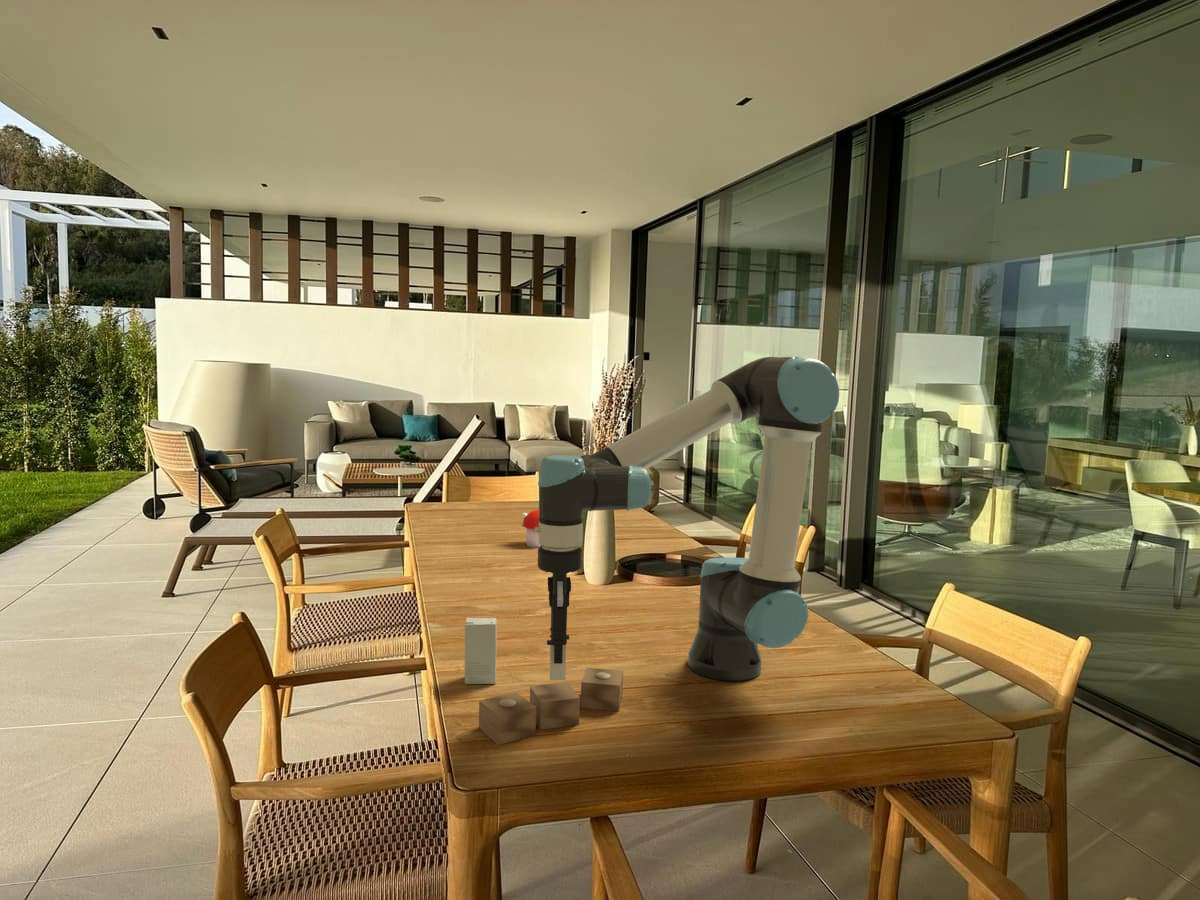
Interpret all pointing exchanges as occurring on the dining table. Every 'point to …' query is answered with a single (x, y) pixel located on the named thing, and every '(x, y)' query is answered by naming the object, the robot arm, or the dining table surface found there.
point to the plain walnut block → (555, 705)
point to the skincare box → (480, 650)
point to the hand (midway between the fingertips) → (557, 678)
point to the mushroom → (531, 527)
